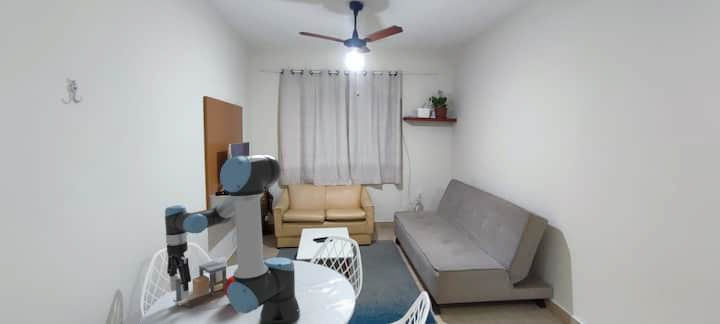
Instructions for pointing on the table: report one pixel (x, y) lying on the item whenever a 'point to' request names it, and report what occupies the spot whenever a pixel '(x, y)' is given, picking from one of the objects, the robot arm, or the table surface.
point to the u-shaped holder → (199, 289)
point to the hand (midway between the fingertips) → (179, 294)
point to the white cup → (222, 261)
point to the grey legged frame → (211, 283)
